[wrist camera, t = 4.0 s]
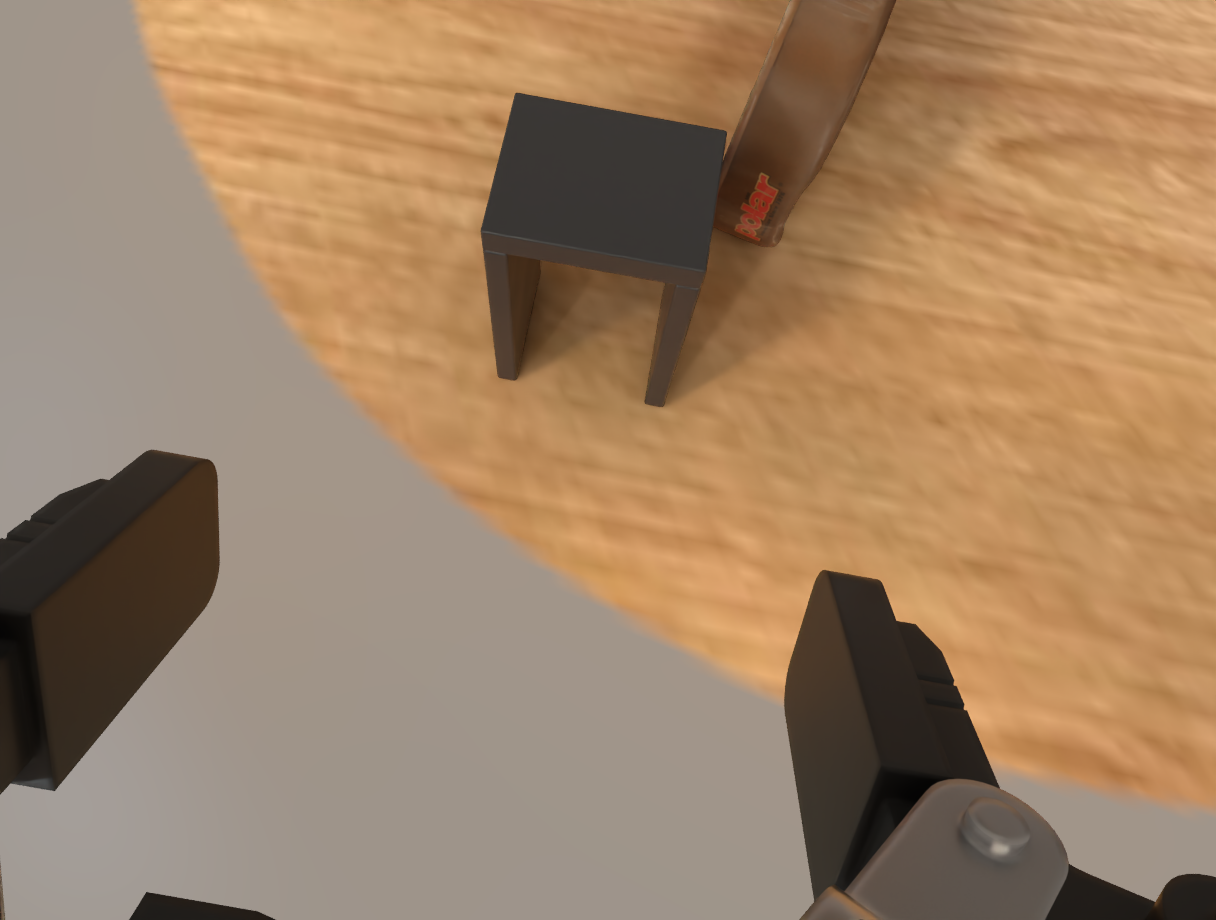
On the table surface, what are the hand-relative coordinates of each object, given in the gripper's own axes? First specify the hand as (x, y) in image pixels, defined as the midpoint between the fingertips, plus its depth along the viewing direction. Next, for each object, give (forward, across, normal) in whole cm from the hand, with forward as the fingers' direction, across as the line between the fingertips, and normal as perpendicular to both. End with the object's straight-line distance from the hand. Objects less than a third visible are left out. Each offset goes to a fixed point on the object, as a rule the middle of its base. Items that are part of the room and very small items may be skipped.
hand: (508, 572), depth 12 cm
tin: (+25, -5, -5) cm, 26 cm away
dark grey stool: (+18, 0, +2) cm, 18 cm away
